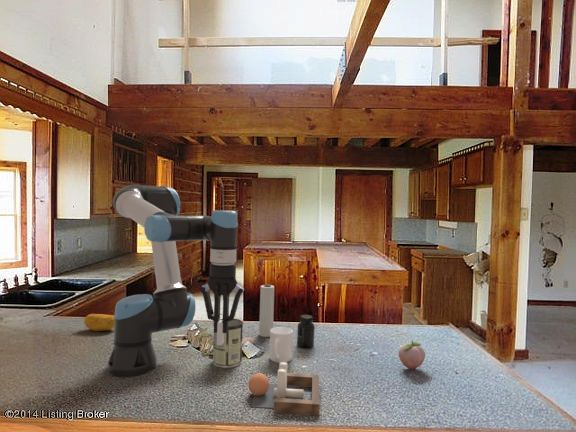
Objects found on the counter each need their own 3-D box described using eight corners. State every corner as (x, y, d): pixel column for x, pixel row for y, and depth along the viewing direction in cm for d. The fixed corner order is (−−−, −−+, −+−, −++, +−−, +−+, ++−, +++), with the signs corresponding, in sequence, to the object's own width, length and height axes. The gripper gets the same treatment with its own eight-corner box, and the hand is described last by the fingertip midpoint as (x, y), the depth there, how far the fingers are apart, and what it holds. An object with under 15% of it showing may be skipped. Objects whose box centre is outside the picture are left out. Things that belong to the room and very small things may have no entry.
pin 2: (276, 402, 105) (277, 372, 105) (277, 398, 107) (278, 368, 107) (284, 403, 105) (285, 372, 105) (285, 398, 107) (286, 369, 107)
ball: (269, 398, 106) (248, 400, 106) (271, 389, 112) (251, 390, 112) (266, 377, 106) (245, 379, 106) (269, 369, 112) (249, 370, 112)
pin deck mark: (251, 407, 102) (251, 406, 102) (258, 383, 116) (258, 383, 116) (294, 410, 101) (294, 409, 101) (297, 386, 115) (297, 385, 115)
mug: (285, 368, 128) (286, 338, 128) (262, 365, 130) (263, 335, 130) (294, 356, 139) (295, 328, 139) (273, 353, 142) (274, 325, 142)
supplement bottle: (294, 347, 148) (295, 317, 148) (300, 342, 155) (301, 313, 154) (310, 350, 146) (311, 319, 145) (316, 344, 152) (317, 315, 152)
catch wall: (273, 412, 100) (274, 401, 100) (280, 382, 118) (280, 372, 118) (319, 415, 99) (319, 404, 99) (318, 384, 117) (318, 374, 117)
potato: (112, 334, 157) (112, 317, 157) (80, 332, 159) (80, 315, 159) (121, 329, 164) (122, 313, 164) (90, 327, 166) (91, 311, 166)
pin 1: (278, 393, 110) (279, 365, 110) (278, 390, 112) (279, 361, 112) (286, 394, 110) (287, 365, 110) (286, 390, 112) (287, 362, 112)
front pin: (273, 390, 107) (303, 392, 107) (274, 386, 110) (303, 388, 109) (273, 398, 108) (303, 400, 107) (274, 394, 110) (303, 396, 109)
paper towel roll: (267, 338, 158) (269, 287, 157) (256, 335, 161) (257, 285, 161) (277, 334, 164) (278, 285, 163) (265, 331, 167) (267, 283, 167)
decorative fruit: (406, 362, 137) (407, 335, 136) (427, 369, 131) (428, 340, 131) (392, 369, 130) (393, 340, 130) (415, 377, 124) (416, 347, 124)
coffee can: (223, 354, 139) (224, 316, 139) (247, 359, 135) (248, 320, 134) (206, 364, 130) (207, 323, 129) (231, 370, 125) (232, 328, 125)
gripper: (197, 264, 106) (194, 346, 107) (242, 266, 105) (239, 349, 106) (204, 260, 114) (202, 337, 114) (247, 262, 113) (244, 340, 113)
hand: (220, 343), depth 110 cm, fingers closed
